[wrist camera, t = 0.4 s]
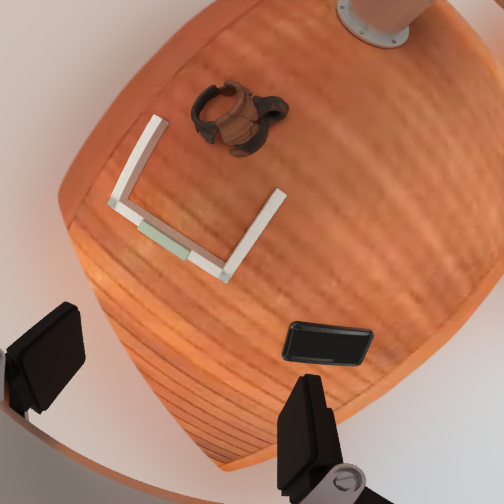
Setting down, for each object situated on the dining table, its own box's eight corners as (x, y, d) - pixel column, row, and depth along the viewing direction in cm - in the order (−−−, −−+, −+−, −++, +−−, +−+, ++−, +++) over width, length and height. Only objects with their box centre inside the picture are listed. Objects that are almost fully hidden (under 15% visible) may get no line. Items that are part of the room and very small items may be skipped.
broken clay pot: (219, 170, 36) (184, 144, 29) (215, 119, 38) (185, 90, 31) (302, 145, 32) (283, 108, 25) (289, 93, 34) (269, 56, 26)
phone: (291, 322, 41) (375, 332, 41) (290, 319, 42) (373, 328, 42) (280, 360, 43) (359, 367, 43) (280, 356, 44) (358, 363, 44)
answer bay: (161, 118, 34) (151, 113, 30) (285, 193, 36) (287, 195, 33) (117, 202, 38) (103, 205, 34) (229, 276, 40) (225, 286, 36)
